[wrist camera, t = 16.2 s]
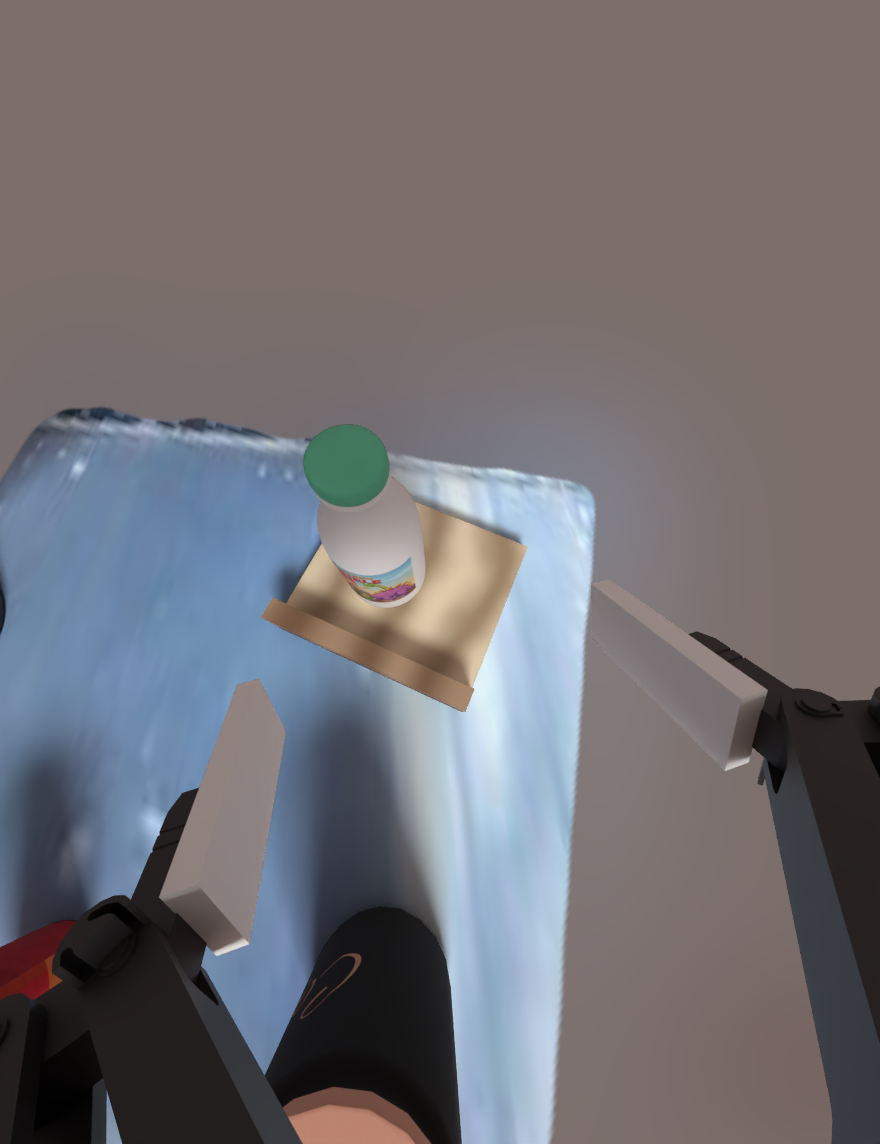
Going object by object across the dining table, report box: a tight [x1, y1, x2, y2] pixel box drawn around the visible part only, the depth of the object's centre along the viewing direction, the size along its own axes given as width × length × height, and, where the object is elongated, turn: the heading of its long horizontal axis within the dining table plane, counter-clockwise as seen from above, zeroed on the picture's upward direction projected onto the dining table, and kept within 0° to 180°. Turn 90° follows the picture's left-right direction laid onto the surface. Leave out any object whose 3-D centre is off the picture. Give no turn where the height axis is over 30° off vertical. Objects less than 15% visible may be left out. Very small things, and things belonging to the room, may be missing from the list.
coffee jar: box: [265, 907, 462, 1144], centre depth 22 cm, size 11×11×18 cm
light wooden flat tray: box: [261, 502, 527, 712], centre depth 39 cm, size 20×18×5 cm
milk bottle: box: [303, 424, 426, 608], centre depth 30 cm, size 8×8×20 cm
